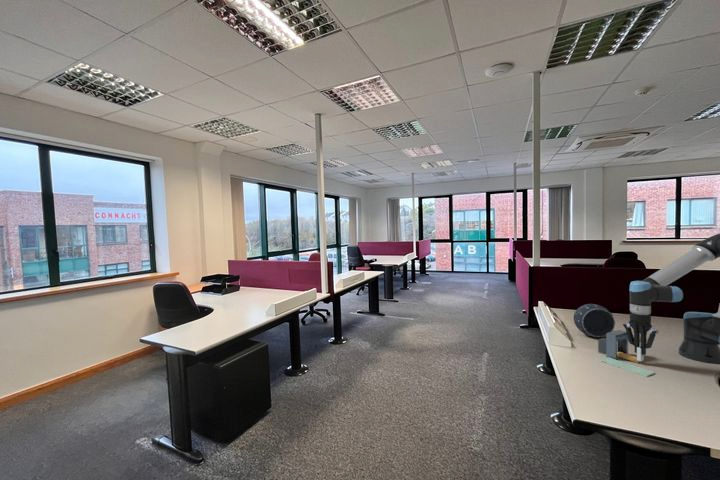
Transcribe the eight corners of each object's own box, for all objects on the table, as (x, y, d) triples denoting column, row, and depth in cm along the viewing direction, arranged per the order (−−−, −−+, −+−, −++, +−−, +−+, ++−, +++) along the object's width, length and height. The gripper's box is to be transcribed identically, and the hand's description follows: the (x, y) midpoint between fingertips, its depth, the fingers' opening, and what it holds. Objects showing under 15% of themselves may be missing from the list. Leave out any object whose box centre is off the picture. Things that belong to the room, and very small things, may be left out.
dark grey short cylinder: (617, 340, 174) (617, 307, 173) (580, 338, 178) (580, 306, 177) (606, 334, 184) (606, 303, 184) (571, 332, 188) (571, 302, 188)
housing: (618, 352, 156) (618, 329, 156) (628, 355, 152) (628, 332, 152) (606, 356, 151) (606, 333, 151) (615, 359, 148) (615, 335, 147)
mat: (608, 358, 149) (608, 357, 149) (654, 373, 133) (654, 372, 133) (600, 361, 147) (600, 359, 147) (646, 376, 130) (646, 375, 130)
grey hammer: (603, 350, 159) (603, 337, 159) (641, 362, 145) (641, 348, 144) (598, 352, 157) (598, 339, 157) (635, 364, 143) (635, 349, 142)
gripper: (619, 310, 147) (619, 356, 147) (653, 317, 135) (653, 367, 135) (627, 309, 150) (627, 354, 150) (661, 315, 138) (661, 364, 138)
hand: (640, 360), depth 143 cm, fingers closed
